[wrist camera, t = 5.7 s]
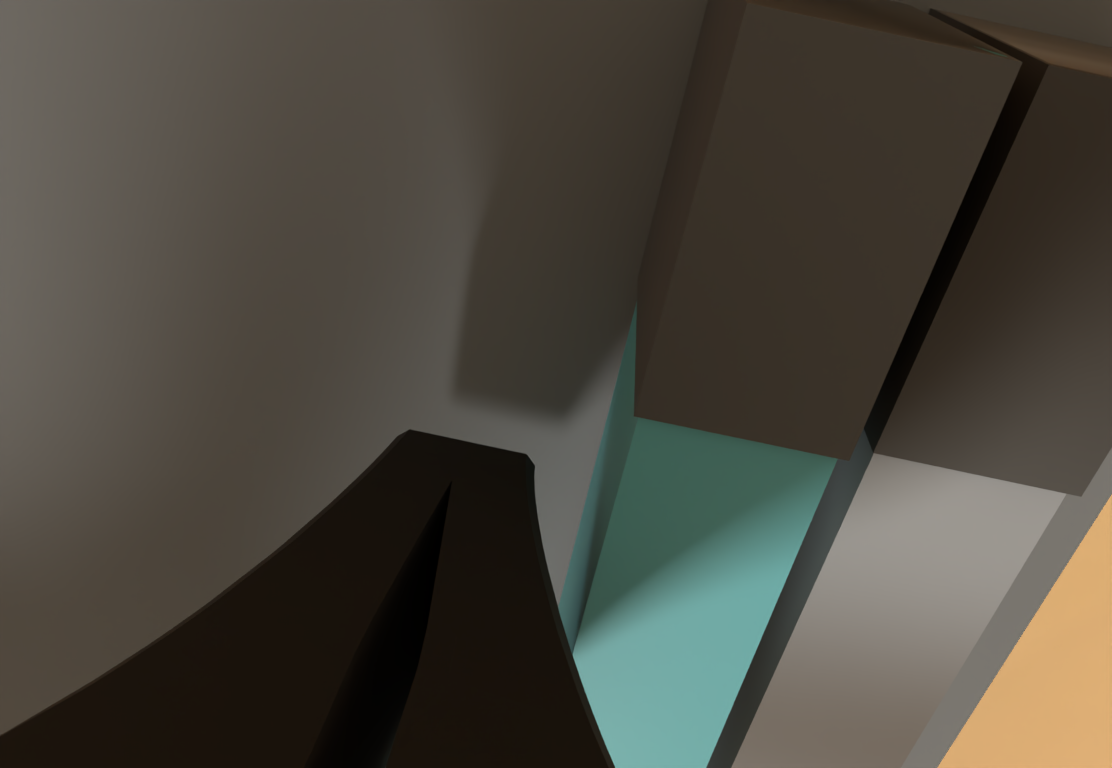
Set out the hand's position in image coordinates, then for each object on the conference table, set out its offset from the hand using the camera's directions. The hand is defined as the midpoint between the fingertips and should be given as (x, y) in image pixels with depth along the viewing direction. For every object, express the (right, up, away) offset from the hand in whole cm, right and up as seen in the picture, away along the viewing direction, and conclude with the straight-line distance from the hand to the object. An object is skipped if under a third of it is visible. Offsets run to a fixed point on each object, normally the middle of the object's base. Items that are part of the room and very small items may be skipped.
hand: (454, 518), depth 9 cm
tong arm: (+2, -1, +2) cm, 3 cm away
